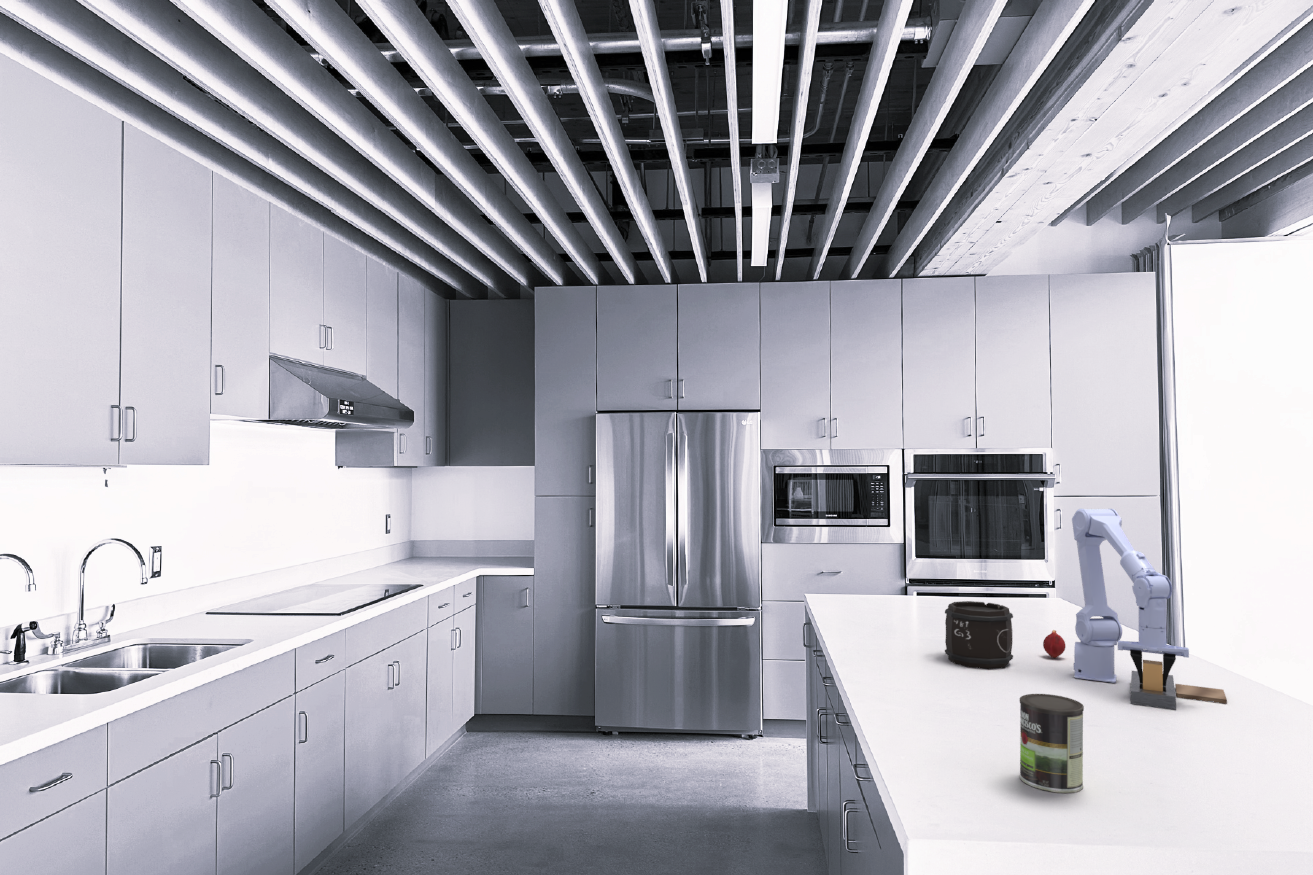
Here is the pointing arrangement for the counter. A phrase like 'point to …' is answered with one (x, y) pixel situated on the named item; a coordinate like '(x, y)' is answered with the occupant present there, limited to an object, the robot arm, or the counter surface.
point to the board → (1200, 693)
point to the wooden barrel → (978, 634)
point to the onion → (1054, 644)
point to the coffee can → (1051, 743)
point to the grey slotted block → (1153, 694)
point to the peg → (1152, 675)
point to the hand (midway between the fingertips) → (1152, 683)
